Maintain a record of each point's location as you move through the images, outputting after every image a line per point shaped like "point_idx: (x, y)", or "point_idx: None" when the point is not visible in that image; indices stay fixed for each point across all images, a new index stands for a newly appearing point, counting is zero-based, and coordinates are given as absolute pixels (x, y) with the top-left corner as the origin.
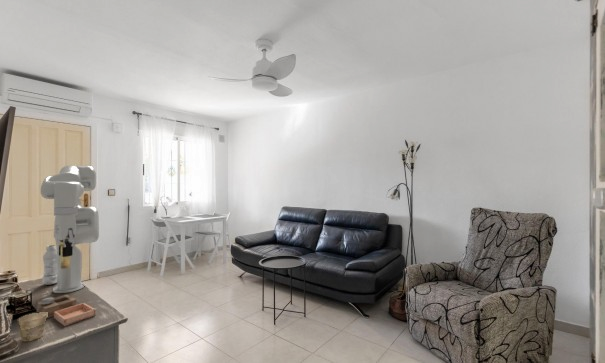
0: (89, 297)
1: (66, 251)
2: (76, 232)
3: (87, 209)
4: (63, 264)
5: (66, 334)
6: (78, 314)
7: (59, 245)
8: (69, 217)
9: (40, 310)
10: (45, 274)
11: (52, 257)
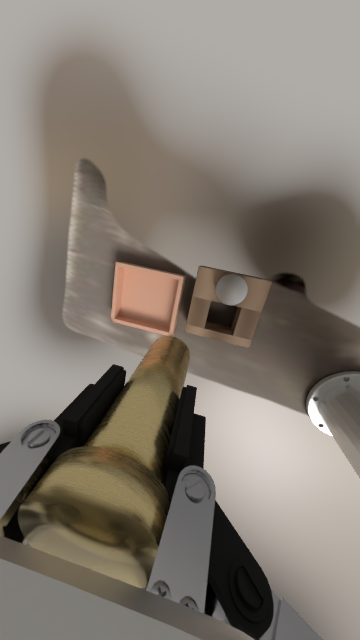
0: (226, 376)
1: (75, 400)
2: None
3: None
4: (150, 349)
5: (83, 242)
6: (116, 290)
7: (190, 469)
8: None
9: (240, 274)
10: None
11: None
